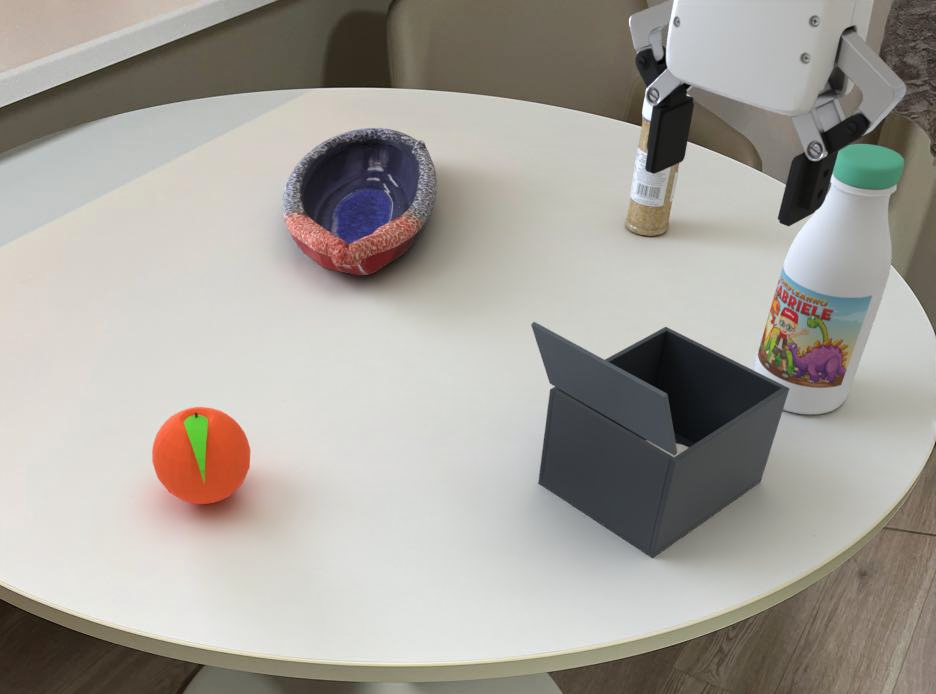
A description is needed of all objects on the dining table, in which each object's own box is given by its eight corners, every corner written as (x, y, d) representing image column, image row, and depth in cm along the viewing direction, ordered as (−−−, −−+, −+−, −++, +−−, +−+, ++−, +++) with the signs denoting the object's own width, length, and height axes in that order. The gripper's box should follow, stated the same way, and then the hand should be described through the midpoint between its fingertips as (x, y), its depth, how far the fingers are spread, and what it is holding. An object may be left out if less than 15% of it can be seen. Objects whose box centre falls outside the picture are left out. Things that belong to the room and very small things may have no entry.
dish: (448, 167, 121) (450, 123, 117) (417, 302, 98) (418, 252, 95) (315, 159, 122) (313, 115, 119) (254, 289, 100) (249, 240, 96)
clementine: (261, 526, 75) (253, 446, 70) (162, 540, 74) (147, 459, 69) (249, 458, 81) (240, 380, 76) (157, 470, 79) (142, 391, 75)
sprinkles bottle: (676, 227, 110) (703, 96, 101) (650, 241, 108) (675, 108, 98) (640, 213, 112) (663, 83, 103) (614, 227, 110) (635, 95, 101)
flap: (677, 452, 67) (674, 456, 67) (552, 380, 73) (549, 383, 73) (667, 393, 62) (664, 397, 61) (533, 321, 67) (530, 324, 67)
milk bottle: (780, 355, 92) (848, 124, 79) (862, 391, 88) (949, 155, 74) (732, 389, 88) (794, 153, 74) (816, 429, 84) (898, 187, 70)
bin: (652, 558, 73) (675, 462, 67) (537, 483, 79) (549, 389, 73) (760, 481, 79) (789, 388, 73) (646, 417, 85) (665, 326, 79)
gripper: (1002, -122, 50) (890, 220, 61) (701, -169, 59) (654, 134, 71) (920, -97, 46) (818, 262, 58) (614, -151, 56) (579, 165, 67)
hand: (727, 191), depth 64 cm, fingers open, 9 cm apart
